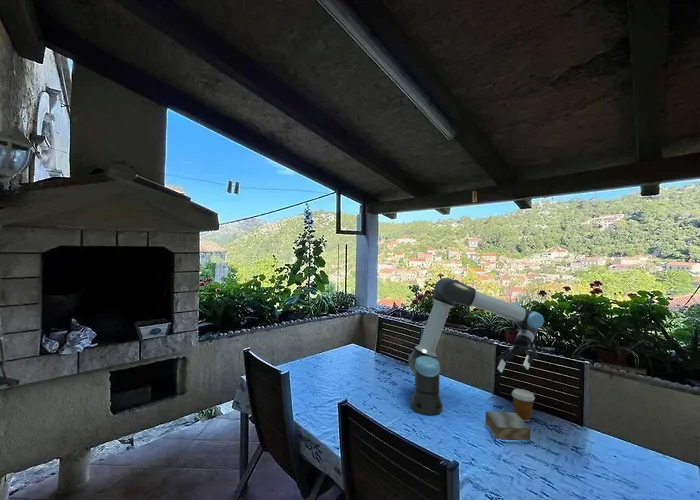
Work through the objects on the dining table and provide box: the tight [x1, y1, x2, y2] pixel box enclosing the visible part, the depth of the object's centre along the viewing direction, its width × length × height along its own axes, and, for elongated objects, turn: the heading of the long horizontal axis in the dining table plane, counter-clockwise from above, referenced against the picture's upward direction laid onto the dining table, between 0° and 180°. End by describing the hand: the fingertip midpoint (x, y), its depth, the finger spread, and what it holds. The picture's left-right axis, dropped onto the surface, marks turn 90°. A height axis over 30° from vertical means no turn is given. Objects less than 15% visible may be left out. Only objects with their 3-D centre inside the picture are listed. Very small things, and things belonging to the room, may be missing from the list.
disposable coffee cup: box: [511, 388, 536, 420], centre depth 151 cm, size 10×10×12 cm
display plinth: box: [485, 410, 531, 441], centre depth 138 cm, size 13×13×6 cm
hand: (512, 368), depth 153 cm, fingers open, 13 cm apart
